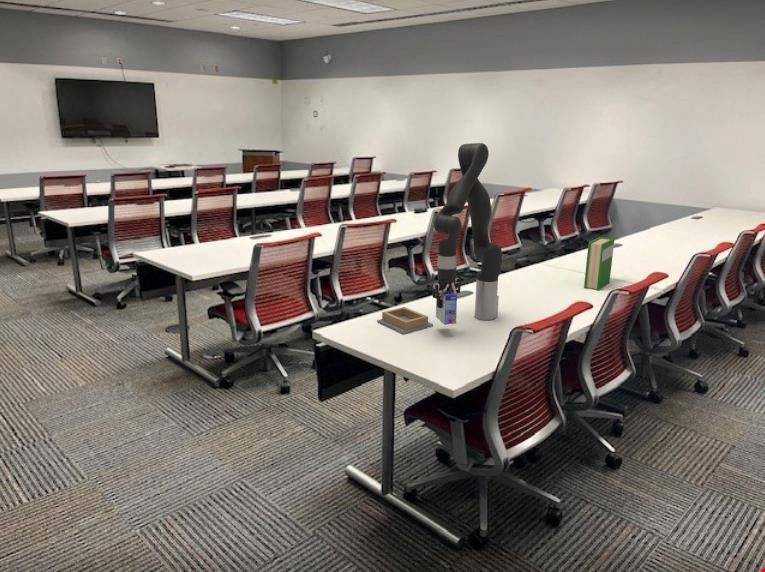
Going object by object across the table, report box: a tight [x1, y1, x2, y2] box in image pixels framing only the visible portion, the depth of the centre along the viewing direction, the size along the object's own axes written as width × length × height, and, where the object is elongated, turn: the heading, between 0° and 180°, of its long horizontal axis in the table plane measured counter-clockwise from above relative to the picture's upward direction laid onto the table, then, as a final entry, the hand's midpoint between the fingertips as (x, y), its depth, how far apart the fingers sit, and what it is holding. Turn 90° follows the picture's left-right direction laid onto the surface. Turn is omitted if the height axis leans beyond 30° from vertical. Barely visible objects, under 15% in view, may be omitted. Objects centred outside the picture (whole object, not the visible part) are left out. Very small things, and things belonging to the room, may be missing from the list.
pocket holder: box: [376, 306, 434, 335], centre depth 242 cm, size 16×18×4 cm
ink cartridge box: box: [435, 287, 458, 325], centre depth 229 cm, size 10×6×14 cm, turn 16°
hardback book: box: [583, 236, 616, 292], centre depth 294 cm, size 18×7×24 cm, turn 142°
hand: (446, 305), depth 230 cm, fingers closed on ink cartridge box, 6 cm apart
